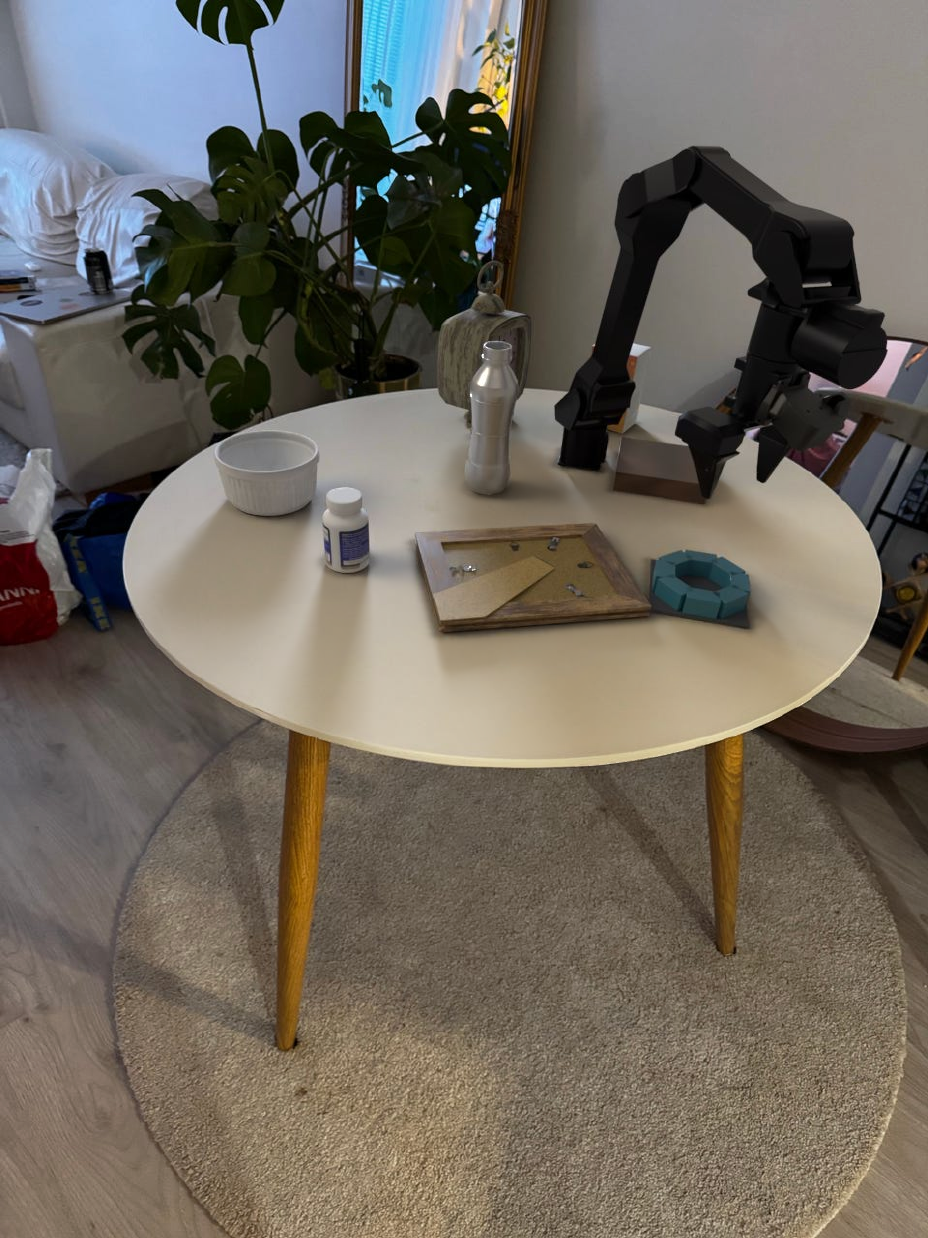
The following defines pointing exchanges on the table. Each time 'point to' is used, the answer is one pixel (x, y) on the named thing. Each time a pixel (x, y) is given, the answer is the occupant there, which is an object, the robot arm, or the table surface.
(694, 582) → the mat
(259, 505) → the ramekin
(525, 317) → the tabletop clock
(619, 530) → the table surface
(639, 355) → the small box
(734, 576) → the ring
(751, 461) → the table surface
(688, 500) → the platform
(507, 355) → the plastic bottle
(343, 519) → the pill bottle
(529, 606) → the picture frame
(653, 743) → the table surface
